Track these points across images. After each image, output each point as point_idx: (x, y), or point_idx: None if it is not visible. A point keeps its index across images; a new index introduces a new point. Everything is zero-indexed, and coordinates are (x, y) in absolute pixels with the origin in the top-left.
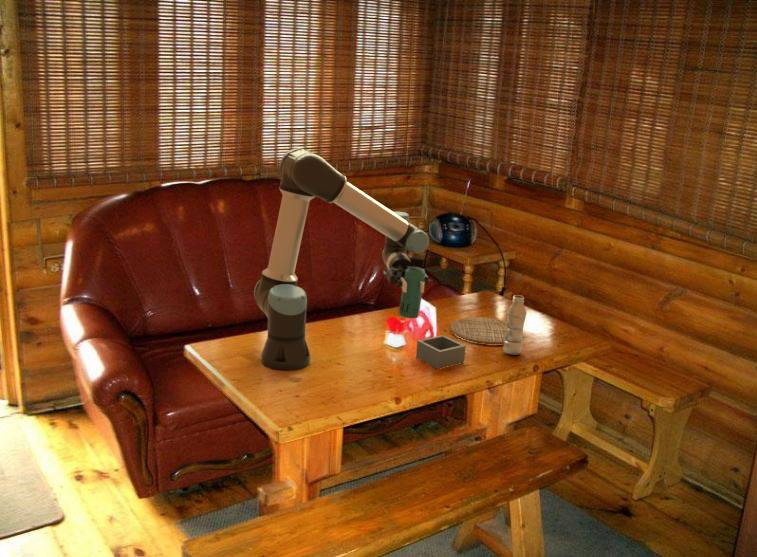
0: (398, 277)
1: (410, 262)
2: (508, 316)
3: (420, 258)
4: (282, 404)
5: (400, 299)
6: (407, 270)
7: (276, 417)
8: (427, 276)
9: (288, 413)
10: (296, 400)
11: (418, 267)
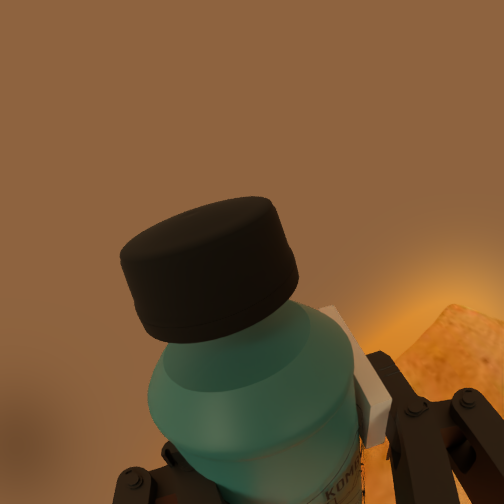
0: (411, 400)
1: (293, 256)
2: None
3: (167, 220)
4: (485, 336)
5: (364, 495)
6: (327, 317)
7: (469, 313)
8: (119, 496)
9: (464, 324)
10: (478, 351)
11: (193, 384)
